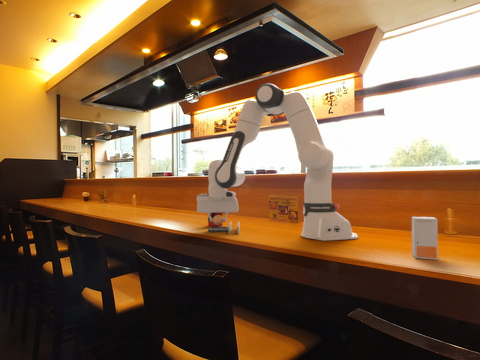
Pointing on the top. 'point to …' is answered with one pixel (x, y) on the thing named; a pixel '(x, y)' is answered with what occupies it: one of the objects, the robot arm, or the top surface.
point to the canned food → (211, 224)
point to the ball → (218, 220)
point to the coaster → (218, 229)
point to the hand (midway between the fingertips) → (218, 221)
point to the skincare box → (425, 237)
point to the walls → (231, 227)
